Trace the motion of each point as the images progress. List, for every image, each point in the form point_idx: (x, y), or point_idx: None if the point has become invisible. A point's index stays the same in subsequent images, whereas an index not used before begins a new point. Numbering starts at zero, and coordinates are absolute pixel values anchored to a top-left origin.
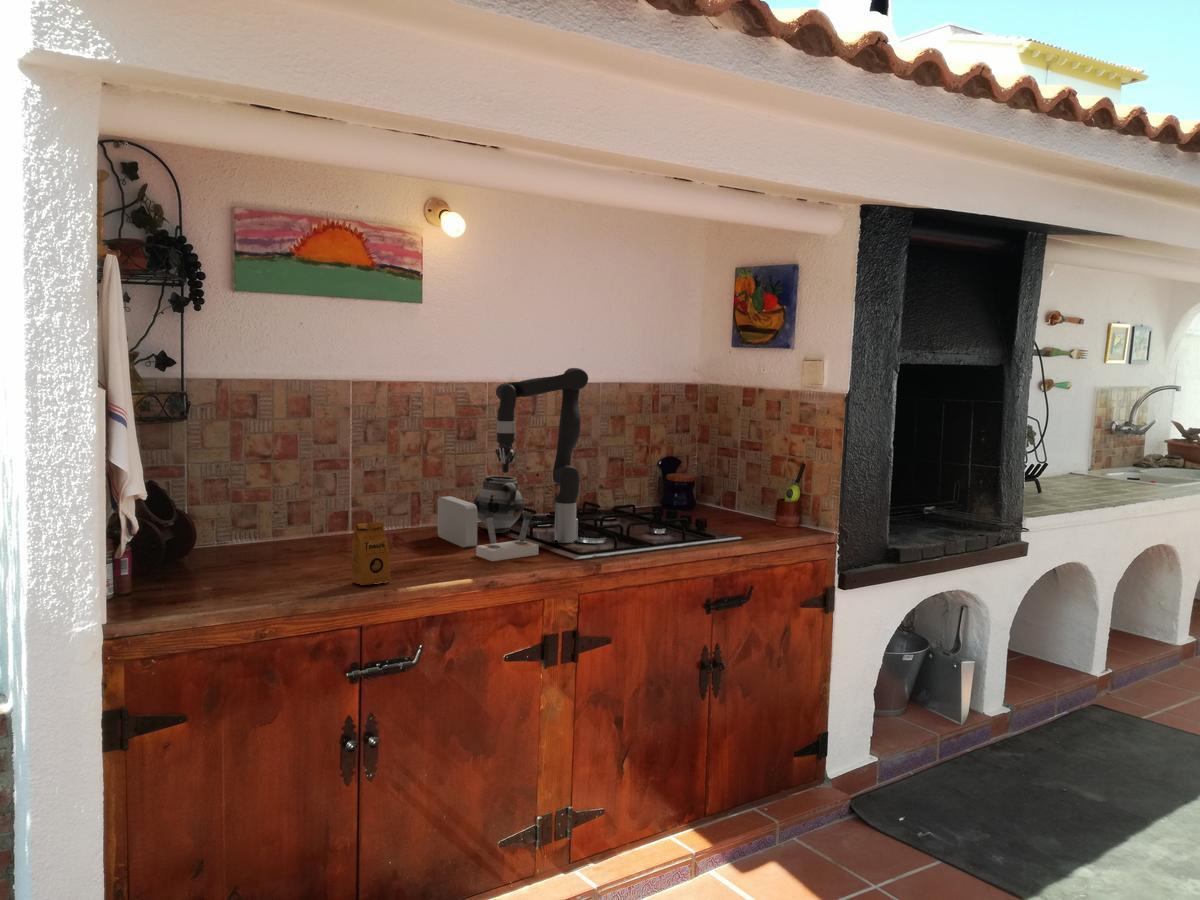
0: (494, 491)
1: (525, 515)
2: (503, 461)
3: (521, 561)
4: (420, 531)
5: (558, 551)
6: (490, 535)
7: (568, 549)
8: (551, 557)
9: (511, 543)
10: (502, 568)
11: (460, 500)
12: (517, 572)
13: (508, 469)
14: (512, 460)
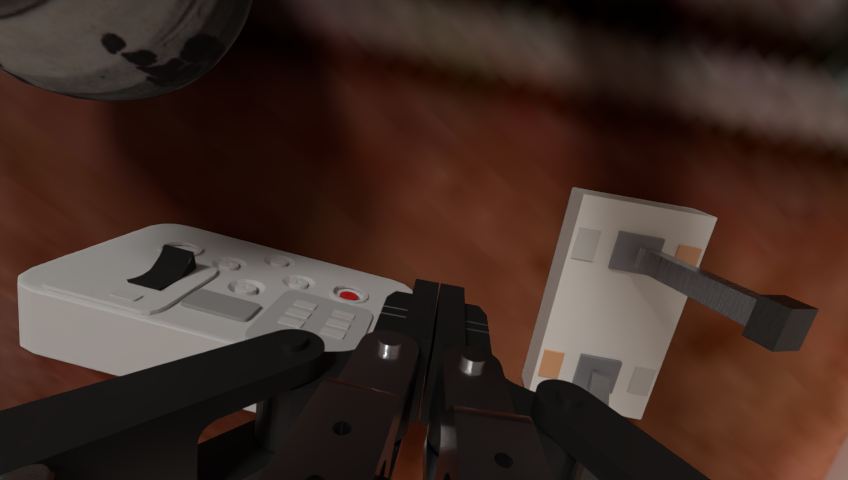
0: (72, 1)
1: (784, 348)
2: (427, 465)
3: (713, 331)
4: (45, 249)
5: (725, 95)
6: None
7: (739, 24)
8: (770, 204)
9: (599, 278)
10: (726, 437)
11: (200, 352)
12: (805, 443)
13: (487, 323)
14: (631, 425)
